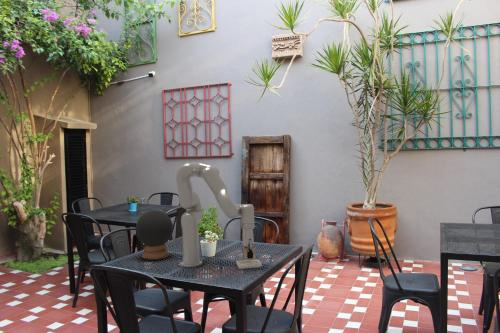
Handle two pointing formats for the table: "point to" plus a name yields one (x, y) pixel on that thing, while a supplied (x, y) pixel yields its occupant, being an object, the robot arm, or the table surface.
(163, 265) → the table surface
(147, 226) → the decorative object
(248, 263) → the dish
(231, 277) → the table surface
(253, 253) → the oak cube
